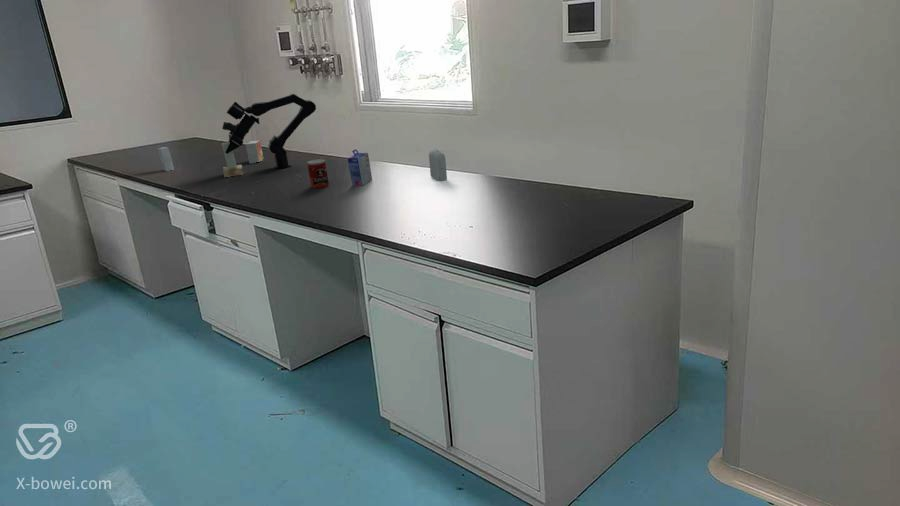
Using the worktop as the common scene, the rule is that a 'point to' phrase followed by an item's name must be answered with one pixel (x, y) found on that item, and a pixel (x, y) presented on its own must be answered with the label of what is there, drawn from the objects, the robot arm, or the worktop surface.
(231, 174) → the oak block
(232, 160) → the sage post
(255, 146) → the small box
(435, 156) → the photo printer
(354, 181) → the ink cartridge box
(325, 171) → the canned food
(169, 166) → the skincare box
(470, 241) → the worktop surface
